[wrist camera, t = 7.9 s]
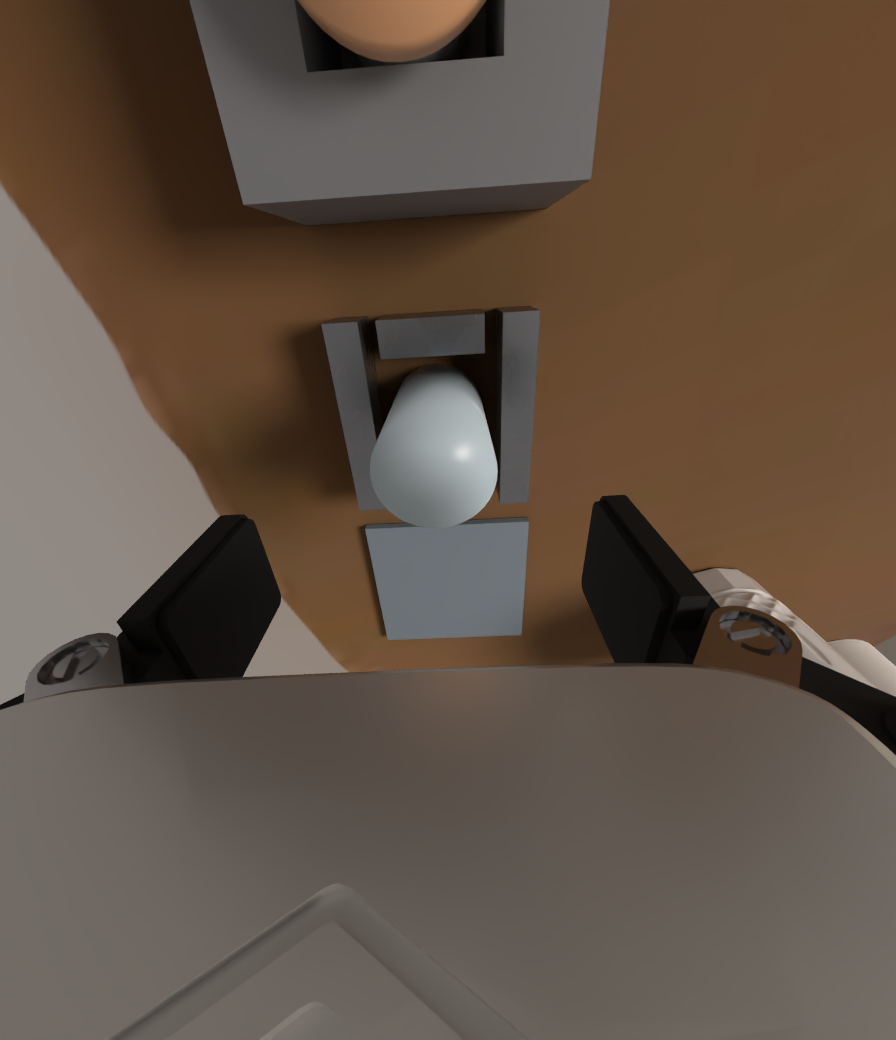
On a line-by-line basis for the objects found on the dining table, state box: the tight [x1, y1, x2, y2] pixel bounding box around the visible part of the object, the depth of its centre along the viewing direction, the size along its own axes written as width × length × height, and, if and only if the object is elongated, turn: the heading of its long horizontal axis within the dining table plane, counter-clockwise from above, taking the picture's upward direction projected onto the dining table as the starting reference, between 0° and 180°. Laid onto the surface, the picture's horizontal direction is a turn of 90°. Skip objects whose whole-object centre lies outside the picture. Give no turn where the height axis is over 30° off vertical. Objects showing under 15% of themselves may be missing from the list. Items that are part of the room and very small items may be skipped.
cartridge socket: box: [321, 306, 540, 511], centre depth 19 cm, size 9×9×2 cm
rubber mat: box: [365, 517, 529, 640], centre depth 27 cm, size 10×10×1 cm
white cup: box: [693, 568, 878, 689], centre depth 24 cm, size 8×8×10 cm
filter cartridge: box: [370, 363, 498, 528], centre depth 17 cm, size 4×4×8 cm
